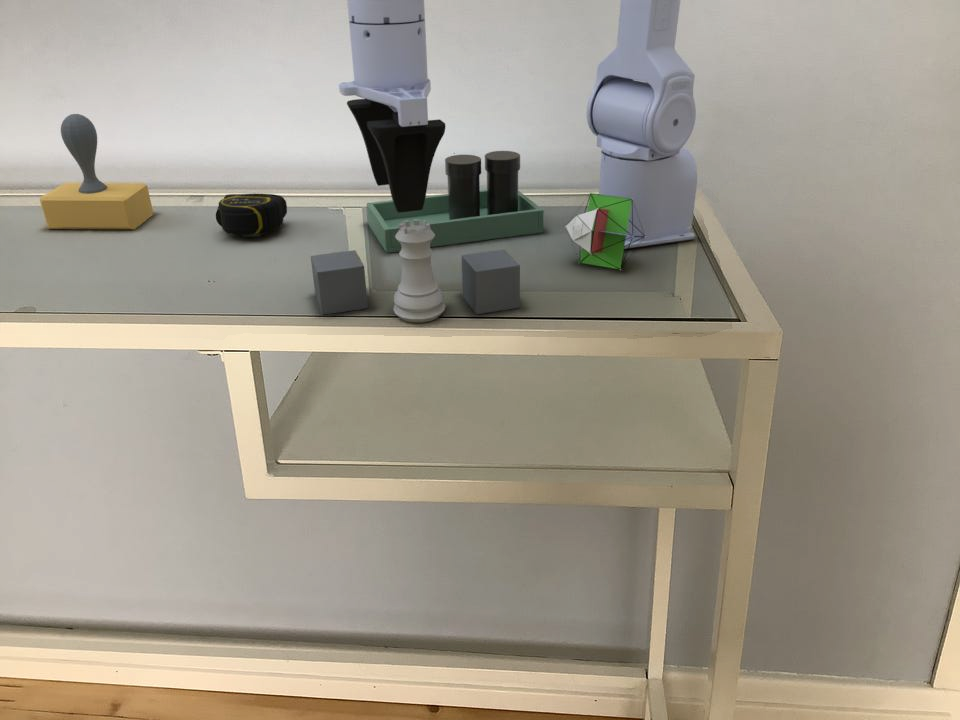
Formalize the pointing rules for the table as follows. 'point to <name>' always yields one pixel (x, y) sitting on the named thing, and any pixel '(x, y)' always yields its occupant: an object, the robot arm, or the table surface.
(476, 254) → the grey cube
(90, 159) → the rubber stamp
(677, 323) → the table surface
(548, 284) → the table surface
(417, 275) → the rook chess piece
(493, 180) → the black capped canister
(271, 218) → the tape measure
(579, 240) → the geometric puzzle
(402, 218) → the tray
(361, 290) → the grey cube
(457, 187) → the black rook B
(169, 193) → the table surface
